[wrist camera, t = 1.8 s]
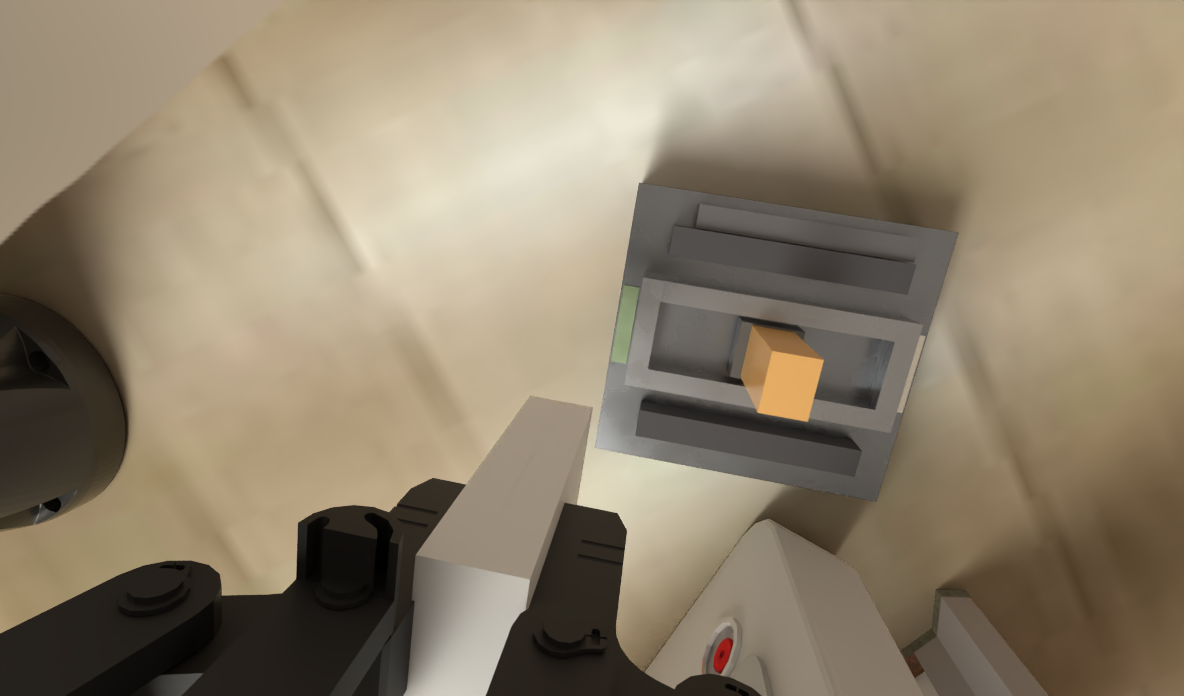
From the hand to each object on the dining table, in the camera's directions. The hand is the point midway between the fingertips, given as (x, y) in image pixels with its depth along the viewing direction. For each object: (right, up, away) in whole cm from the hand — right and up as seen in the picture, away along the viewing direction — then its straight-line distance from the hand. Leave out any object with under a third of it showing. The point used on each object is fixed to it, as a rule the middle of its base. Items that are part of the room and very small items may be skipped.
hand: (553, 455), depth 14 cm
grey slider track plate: (+10, +3, +15) cm, 18 cm away
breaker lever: (+9, +2, +16) cm, 18 cm away
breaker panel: (+10, +3, +18) cm, 21 cm away
